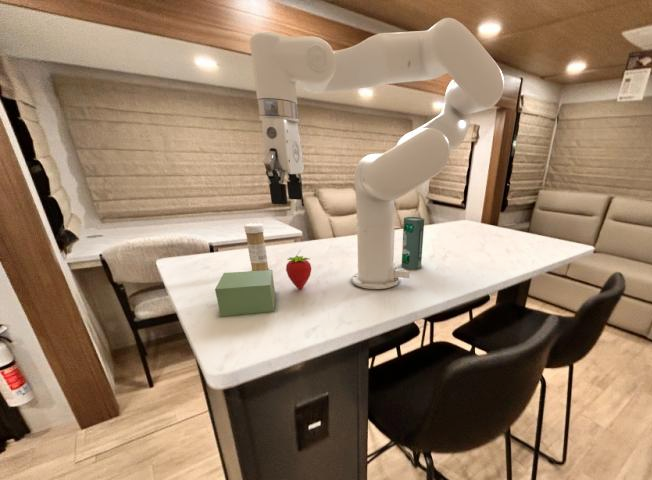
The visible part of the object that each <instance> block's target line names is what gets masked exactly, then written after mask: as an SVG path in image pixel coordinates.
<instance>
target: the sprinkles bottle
mask: <svg viewBox="0 0 652 480" xmlns="http://www.w3.org/2000/svg"><path fill="white" fill-rule="evenodd" d="M243 228H244V232H245V236H246V242H247V249H248V257H249V261H250V267H251V271H264V270H270V269H269V263H268V254H267V248H266V242H265V235H264V232H265V231H264V225H263V224H262V223H259V222H258V223H255V222H254V223H246V224H244V226H243Z"/></svg>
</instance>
